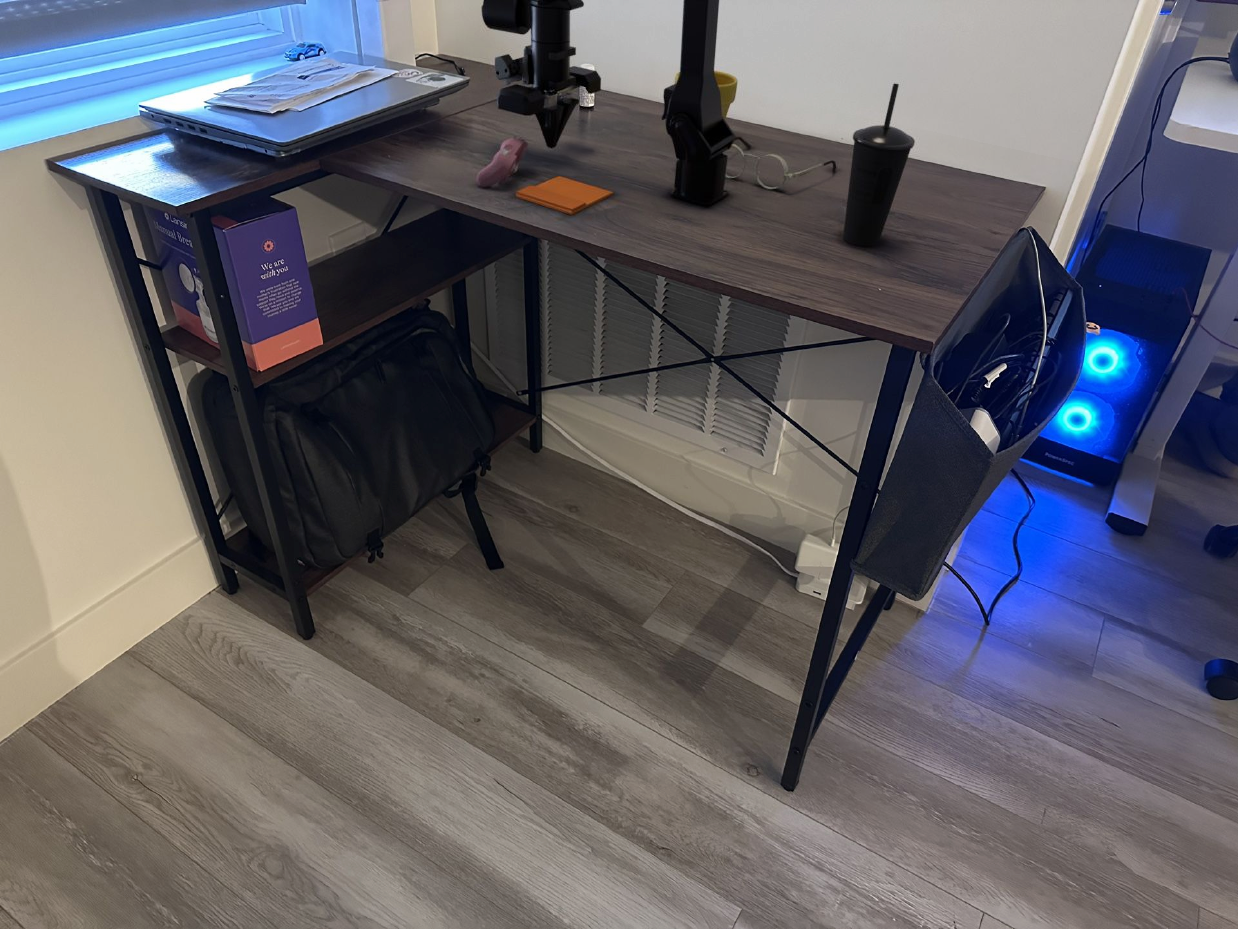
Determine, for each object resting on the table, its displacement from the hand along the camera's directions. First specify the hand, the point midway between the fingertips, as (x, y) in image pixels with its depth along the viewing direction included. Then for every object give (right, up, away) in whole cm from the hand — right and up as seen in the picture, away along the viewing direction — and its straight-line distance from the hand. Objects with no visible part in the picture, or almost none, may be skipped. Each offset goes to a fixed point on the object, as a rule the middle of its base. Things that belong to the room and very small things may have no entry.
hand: (551, 147), depth 138 cm
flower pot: (+25, +7, +13) cm, 29 cm away
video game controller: (-7, -7, -6) cm, 11 cm away
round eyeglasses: (+35, -3, +2) cm, 35 cm away
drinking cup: (+44, -19, -18) cm, 51 cm away
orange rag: (+3, -11, -11) cm, 16 cm away
